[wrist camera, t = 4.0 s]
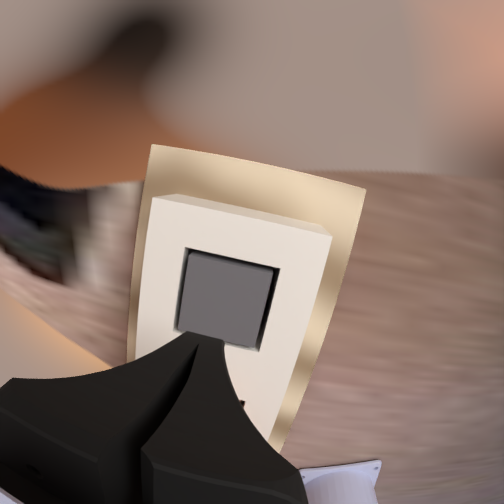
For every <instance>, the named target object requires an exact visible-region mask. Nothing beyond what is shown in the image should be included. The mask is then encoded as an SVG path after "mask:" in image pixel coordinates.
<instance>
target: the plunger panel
mask: <svg viewBox="0 0 504 504" xmlns="http://www.w3.org/2000/svg"><path fill="white" fill-rule="evenodd" d="M332 237H333V236H332V235H331V234H330V233H328V232H327V231H326V230H325V229H324V228H323V227H322V226H321V225H318V224H314V223H310V222H306V221H302V220H297V219H293V218H289V217H284V216H280V215H276V214H271V213H267V212H262V211H258V210H253V209H248V208H244V207H239V206H235V205H230V204H225V203H220V202H215V201H211V200H206V199H201V198H196V197H191V196H186V195H181V194H172V195H165V196H158V197H153V198H152V204H151V210H150V217H149V223H148V230H147V237H146V244H145V252H144V260H143V269H142V278H141V287H140V298H139V309H138V322H137V337H136V356H135V360H136V359H138V358H141V357H143V356H145V355H147V354H149V353H151V352H153V351H154V350H156V349H158V348H160V347H162V346H163V345H165V344H167V343H168V342H170V341H172V340H173V339H175V338H176V337H178V336H180V335H181V334H183V333H185V332H186V331H182V330H178V325H179V317H180V310H181V303H182V296H183V290H184V283H185V277H186V270H187V264H188V258H189V255H190V254H191V253H192V252H193V251H194V250H195V249H196V250H201V251H205V252H210V253H214V254H218V255H223V256H227V257H232V258H236V259H241V260H245V261H249V262H254V263H258V264H263V265H267V266H272V267H275V270H274V274H273V278H272V282H271V286H270V290H269V294H268V298H267V303H266V307H265V311H264V315H263V319H262V321H261V324H260V328H259V332H258V336H257V340H256V343H255V347H254V348H253V347H248V346H244V345H239V344H235V343H230V342H226V341H224V342H225V347H224V352H225V360H226V365H227V368H228V372H229V376H230V379H231V382H232V385H233V387H234V390H235V392H236V394H237V397H238V399H239V400H241V405H242V407H243V408H244V410H245V412H246V414H247V415H248V417H249V418H250V420H251V422H252V423H253V424H254V426H255V427H256V428H257V430H258V431H259V432H260V433H261V435H262V436H263V437H264V439H265V440H266V441H268V439H269V436H270V434H271V431H272V428H273V426H274V423H275V420H276V418H277V415H278V412H279V409H280V407H281V404H282V401H283V398H284V396H285V393H286V390H287V387H288V384H289V381H290V378H291V375H292V372H293V369H294V366H295V363H296V360H297V357H298V354H299V351H300V348H301V345H302V342H303V339H304V336H305V332H306V329H307V326H308V323H309V319H310V316H311V313H312V310H313V306H314V303H315V299H316V296H317V293H318V289H319V286H320V282H321V278H322V275H323V271H324V268H325V264H326V260H327V257H328V253H329V249H330V245H331V241H332Z"/></svg>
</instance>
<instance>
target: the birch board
mask: <svg viewBox="0 0 504 504" xmlns="http://www.w3.org/2000/svg"><path fill="white" fill-rule="evenodd" d="M365 193H366V189H363V188H360V187H356V186H353V185H349V184H345V183H342V182H338V181H334V180H330V179H326V178H322V177H318V176H314V175H310V174H306V173H302V172H298V171H294V170H289V169H285V168H281V167H276V166H272V165H267V164H262V163H258V162H253V161H248V160H243V159H238V158H233V157H227V156H222V155H216V154H211V153H205V152H200V151H194V150H188V149H181V148H175V147H168V146H161V145H155V144H152V146H151V151H150V156H149V161H148V166H147V172H146V177H145V183H144V188H143V194H142V201H141V207H140V213H139V220H138V227H137V235H136V243H135V251H134V260H133V269H132V279H131V290H130V303H129V317H128V336H127V363H129V362H132V361H134V360H135V356H136V337H137V322H138V309H139V298H140V287H141V278H142V269H143V260H144V252H145V244H146V237H147V230H148V223H149V217H150V210H151V204H152V198H153V197H158V196H165V195H172V194H181V195H186V196H191V197H196V198H201V199H206V200H211V201H215V202H220V203H225V204H230V205H235V206H239V207H244V208H248V209H253V210H258V211H262V212H267V213H271V214H276V215H280V216H284V217H289V218H293V219H297V220H302V221H306V222H310V223H314V224H318V225H321V226H322V227H323V228H324V229H325V230H326V231H327V232H328V233H330V234H331V235H332V236H333V237H332V241H331V245H330V249H329V253H328V257H327V260H326V264H325V268H324V271H323V275H322V278H321V282H320V286H319V289H318V293H317V296H316V299H315V303H314V306H313V310H312V313H311V316H310V319H309V323H308V326H307V329H306V332H305V336H304V339H303V342H302V345H301V348H300V351H299V354H298V357H297V360H296V363H295V366H294V369H293V372H292V375H291V378H290V381H289V384H288V387H287V390H286V393H285V396H284V398H283V401H282V404H281V407H280V409H279V412H278V415H277V418H276V420H275V423H274V426H273V428H272V431H271V434H270V436H269V439H268V441H267V442H268V443H269V444H270V445H271V446H272V448H273V449H274V450H275V451H276V452H278V453H280V451H281V448H282V446H283V444H284V441H285V439H286V437H287V435H288V432H289V430H290V427H291V425H292V423H293V420H294V418H295V415H296V413H297V410H298V408H299V405H300V403H301V400H302V398H303V395H304V393H305V390H306V387H307V385H308V382H309V379H310V377H311V374H312V371H313V369H314V366H315V363H316V360H317V358H318V355H319V352H320V349H321V346H322V343H323V340H324V337H325V334H326V331H327V328H328V325H329V322H330V319H331V316H332V313H333V310H334V307H335V304H336V300H337V297H338V294H339V291H340V287H341V284H342V281H343V277H344V274H345V270H346V267H347V263H348V260H349V256H350V252H351V249H352V245H353V241H354V238H355V234H356V230H357V226H358V222H359V218H360V214H361V210H362V206H363V201H364V197H365ZM274 270H275V267H273V274H274ZM272 278H273V275H272ZM271 282H272V279H271ZM270 286H271V283H270ZM269 290H270V287H269ZM268 294H269V291H268ZM267 298H268V296H267ZM266 303H267V300H266ZM265 307H266V304H265ZM264 311H265V308H264ZM263 315H264V312H263ZM262 319H263V316H262ZM261 321H262V320H261ZM240 403H241V400H240Z"/></svg>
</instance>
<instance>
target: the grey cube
mask: <svg viewBox="0 0 504 504" xmlns="http://www.w3.org/2000/svg"><path fill="white" fill-rule="evenodd" d="M272 275H273V267H272V266H267V265H263V264H258V263H254V262H249V261H245V260H241V259H236V258H232V257H227V256H223V255H218V254H214V253H210V252H205V251H201V250H196V249H195V250H194V251H193V252H192V253H191V254H190V255H189V258H188V264H187V270H186V277H185V283H184V290H183V296H182V303H181V310H180V317H179V325H178V330H182V331H190V332H194V333H198V334H202V335H206V336H210V337H214V338H218V339H222V340H223V341H226V342H230V343H235V344H239V345H244V346H248V347H253V348H254V347H255V343H256V340H257V336H258V332H259V328H260V324H261V320H262V316H263V312H264V308H265V304H266V300H267V296H268V291H269V287H270V283H271V279H272Z"/></svg>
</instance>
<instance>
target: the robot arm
mask: <svg viewBox="0 0 504 504" xmlns="http://www.w3.org/2000/svg"><path fill="white" fill-rule="evenodd" d="M224 347H225V342H224V341H223V340H222V339H218V338H214V337H210V336H206V335H202V334H198V333H194V332H190V331H186V332H185V333H183V334H181V335H180V336H178V337H176V338H175V339H173V340H172V341H170V342H168V343H167V344H165V345H163V346H162V347H160V348H158V349H156V350H154V351H153V352H151V353H149V354H147V355H145V356H143V357H141V358H138V359H136V360H134V361H132V362H129V363H127V364H124V365H121V366H118V367H115V368H112V369H109V370H105V371H101V372H97V373H92V374H87V375H82V376H75V377H67V378H55V379H23V378H12V379H10V380H9V381H8V382H7V383H6V384H4V385H3V386H2V387H1V388H0V504H378V502H377V498H376V495H375V491H374V486H375V483H376V480H377V477H378V474H379V471H380V468H381V465H382V463H381V461H380V460H373V461H367V462H361V463H354V464H347V465H339V466H330V467H320V468H308V469H300V470H298V469H296V468H295V467H294V466H293V465H292V464H290V463H289V462H288V461H287V460H286V459H285V458H283V457H282V456H281V455H280V454H279V453H278V452H276V451H275V450H274V449H273V448H272V446H271V445H270V444H269V443H268V442H267V441H266V440H265V439H264V437H263V436H262V435H261V433H260V432H259V431H258V430H257V428H256V427H255V426H254V424H253V423H252V422H251V420H250V418H249V417H248V415H247V414H246V412H245V410H244V408H243V407H242V405H241V403H240V401H239V399H238V397H237V394H236V392H235V390H234V387H233V385H232V382H231V379H230V376H229V372H228V368H227V365H226V360H225V352H224Z"/></svg>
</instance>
